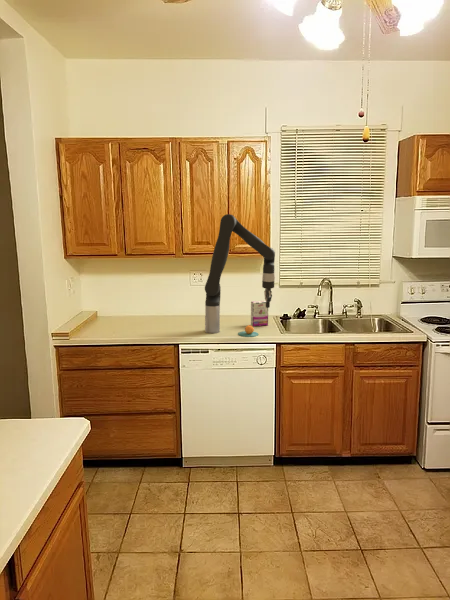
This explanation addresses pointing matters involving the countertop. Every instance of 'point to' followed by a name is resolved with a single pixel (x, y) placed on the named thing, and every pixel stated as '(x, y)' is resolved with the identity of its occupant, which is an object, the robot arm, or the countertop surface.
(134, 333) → the countertop surface
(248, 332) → the ball
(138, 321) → the countertop surface
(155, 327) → the countertop surface
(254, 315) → the candy bar box
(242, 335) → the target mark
